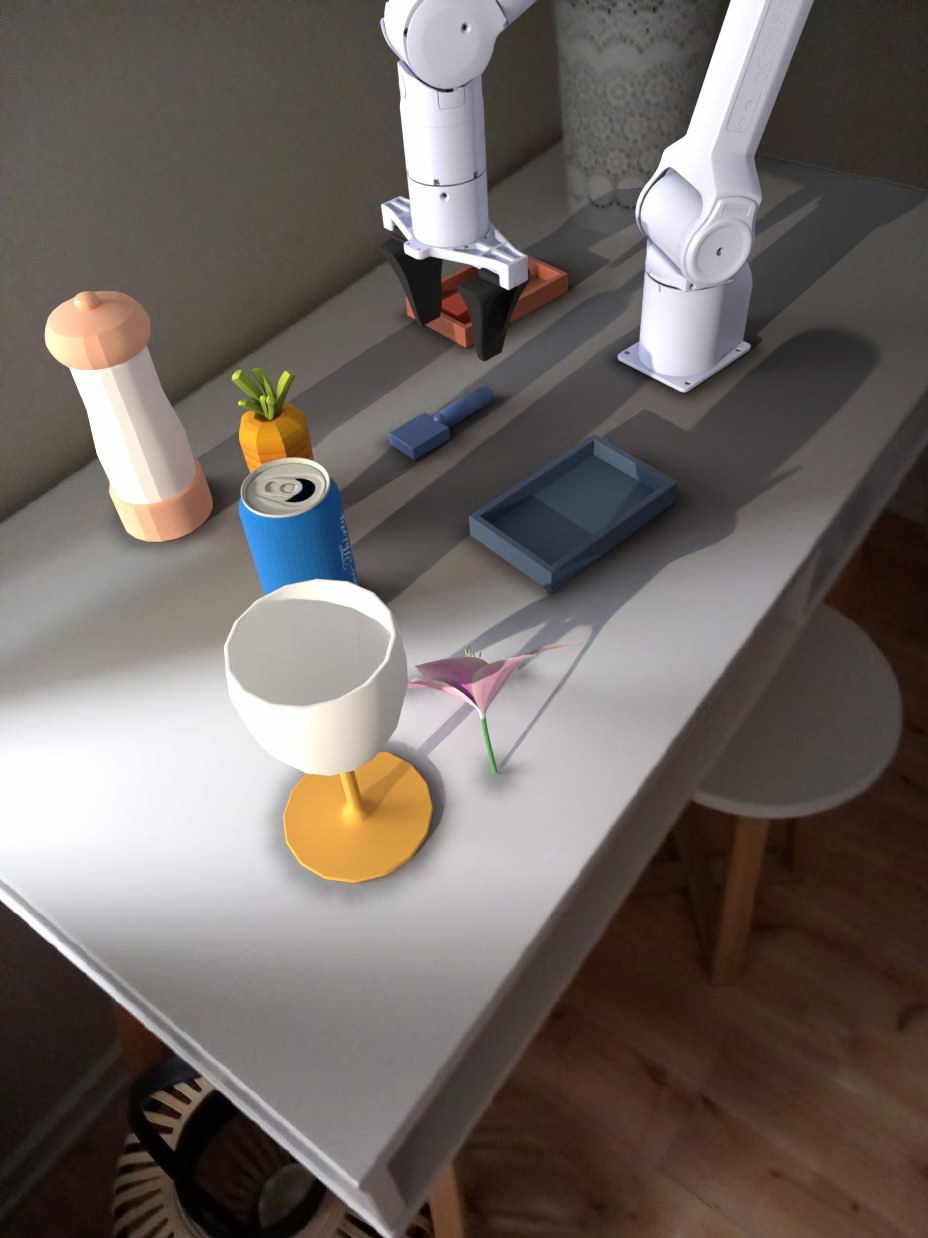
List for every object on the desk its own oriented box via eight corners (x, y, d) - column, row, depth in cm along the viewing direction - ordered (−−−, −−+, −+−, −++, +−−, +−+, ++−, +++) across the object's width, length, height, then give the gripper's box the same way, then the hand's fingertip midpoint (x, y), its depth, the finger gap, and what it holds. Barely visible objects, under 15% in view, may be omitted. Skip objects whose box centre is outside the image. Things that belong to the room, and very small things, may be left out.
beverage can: (349, 653, 67) (319, 524, 58) (261, 643, 68) (218, 515, 59) (374, 586, 71) (348, 456, 62) (290, 577, 72) (254, 449, 64)
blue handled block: (479, 391, 87) (478, 376, 86) (504, 406, 85) (503, 390, 84) (390, 444, 82) (387, 428, 81) (414, 460, 81) (412, 445, 80)
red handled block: (513, 274, 99) (513, 259, 98) (535, 284, 98) (535, 269, 96) (437, 314, 95) (436, 299, 94) (459, 326, 93) (457, 311, 92)
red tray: (507, 263, 102) (507, 244, 100) (567, 291, 97) (568, 273, 96) (407, 315, 96) (405, 296, 95) (466, 348, 92) (464, 329, 90)
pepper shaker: (231, 499, 79) (162, 280, 65) (169, 554, 75) (80, 334, 61) (167, 471, 82) (87, 257, 68) (103, 523, 78) (4, 307, 64)
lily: (608, 711, 64) (578, 575, 61) (562, 812, 54) (524, 655, 50) (443, 720, 69) (408, 595, 65) (373, 815, 58) (327, 672, 55)
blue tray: (593, 453, 80) (593, 433, 78) (675, 501, 75) (678, 481, 74) (469, 535, 74) (468, 515, 73) (551, 593, 70) (551, 573, 68)
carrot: (341, 518, 76) (307, 352, 65) (315, 561, 73) (274, 394, 62) (285, 507, 78) (242, 342, 67) (257, 549, 75) (206, 384, 64)
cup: (256, 856, 57) (179, 688, 45) (324, 735, 63) (272, 557, 51) (397, 904, 54) (355, 738, 43) (455, 773, 60) (433, 595, 48)
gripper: (341, 159, 72) (366, 324, 82) (472, 220, 64) (482, 393, 74) (414, 129, 75) (430, 291, 85) (548, 183, 67) (548, 355, 77)
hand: (458, 337), depth 80 cm, fingers open, 7 cm apart
